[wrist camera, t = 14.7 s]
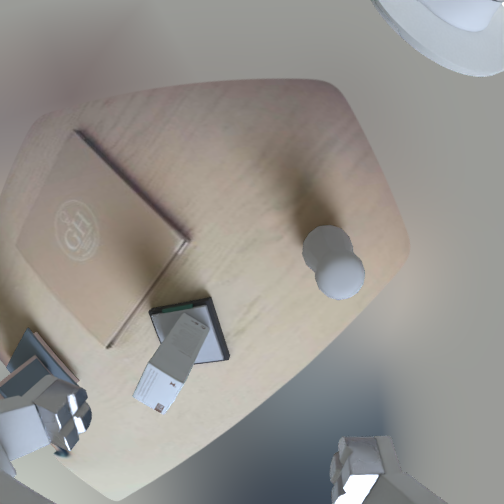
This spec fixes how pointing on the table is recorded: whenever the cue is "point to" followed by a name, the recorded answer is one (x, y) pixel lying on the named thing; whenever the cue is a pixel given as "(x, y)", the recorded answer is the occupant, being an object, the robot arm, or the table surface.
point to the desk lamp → (32, 366)
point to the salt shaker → (333, 262)
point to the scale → (202, 312)
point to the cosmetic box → (171, 364)
